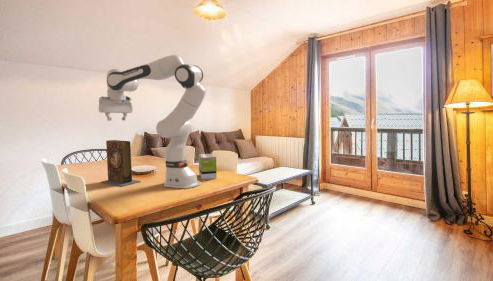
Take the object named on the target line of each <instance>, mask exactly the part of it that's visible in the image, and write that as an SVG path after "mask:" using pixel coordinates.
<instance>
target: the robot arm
mask: <svg viewBox="0 0 493 281" xmlns="http://www.w3.org/2000/svg"><path fill="white" fill-rule="evenodd" d="M172 77H174V79H175V80H176V81H177V82H178V84H180V86H181V87H182V88H183V89H185V91H184V93H183V95H182V96H181V98H180V100H179V102H178V103H177V104H176V107H175V108H174V109H173V110H171V112H170V113H168V114H167V116H166V117H164V118H162V119H161V120H159V121H158V122H157V124H156V126H155V127H156V128H155V130H156V133H157V134H158V136H160V137H161V138H165V139H170V141H169V143H168V145H166V148H165V157H166V158H165V167H166V168H165V169H166V170H165V176H164V178H165V179H164V183H163V186H164V187H165V188H175V189H191V188H195V187H198V186H200V185H202V182H201V181H200V180H198V176H197V173H196V172H195V171H193V169H191V168H190V167H189V164H190V163H189V161H187V159H186V147H187V146H186V145H187V141H188V138H189V136H190V134H191V133H192V130H193V124H192V122H191V121H190V120H192V119H193V118H194V116H195V115H196V113H197V111H198V110H199V108H200V106H201V105H202V103H203V101H204V98H205V95H206V89H205V87H204V86H203V85H202V84H201V82H202V81H203V78H204V72H203V70H202V68H200V67H199V66H198V65H195V64H189V63H187V64H185V63H184V60H183V59H182V57H181V56H180V55H178V54H173V55H167V56H164V57H160V58H158V59H156V60H154V61H151V62H148V63H146V64H143V65H139V66H136V67H133V68H129V69H126V70H123V71H122V70H121V69H117V68H115V69H109V70H108V71H107V73H106V86H107V92H106V94H107V96H101V97H99V98H98V112H99V113H100V114H101V113H102V114H103V113H104V114H105V117H106V119H107V121H109V122H110V121H112V117H111V116H110V114H111V113H112V114H113V113H114V114H122V115H123V116H122V117H121V120H122V121H126V119H127V115H128V114H131V113H132V112H133V111H134V110H133V104H132V97H130V96H129V95H126V94H125V93H124V92H129V93H131V92H135V91H137V89H138V86H139V80H144V79H146V80H155V81H162V80H163V81H164V80H166V79H170V78H172Z"/></svg>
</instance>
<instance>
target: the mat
mask: <svg viewBox="0 0 493 281" xmlns="http://www.w3.org/2000/svg"><path fill="white" fill-rule="evenodd" d="M137 183H141V180H137V179H132V181H131V182H125V183H117V182H112V181H108V179H107V180H103V181H100V184H105V185H106V184H107V185H109V186H111V185H112V186H117V187H120V188H123V187H126V186H130V185H133V184H137Z"/></svg>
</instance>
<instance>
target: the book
mask: <svg viewBox="0 0 493 281" xmlns="http://www.w3.org/2000/svg"><path fill="white" fill-rule="evenodd" d="M105 142H106V143H105V144H106V145H105V146H106V162H107V164H106V165H107V180H108V181H112V182H117V183H125V182H131V181H132V180H133V175H132V174H133V172H132V148H131V140H117V139H112V140H111V139H108V140H106V141H105Z"/></svg>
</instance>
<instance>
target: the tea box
mask: <svg viewBox="0 0 493 281" xmlns="http://www.w3.org/2000/svg"><path fill="white" fill-rule="evenodd" d="M198 175H199V177H200V178H201V180H203V181H204V179H205V180H214V179H215V180H216V179H217V156H216V155H214V154H213V153H200V154H198Z"/></svg>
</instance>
